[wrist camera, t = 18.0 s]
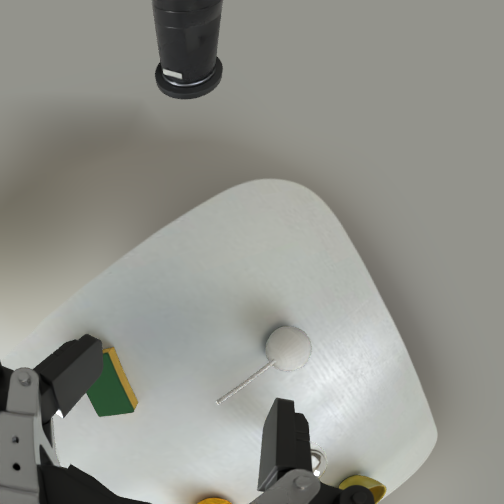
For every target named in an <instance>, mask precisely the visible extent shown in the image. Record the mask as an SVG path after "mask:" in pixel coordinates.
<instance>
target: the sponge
mask: <svg viewBox="0 0 504 504" xmlns="http://www.w3.org/2000/svg"><path fill="white" fill-rule="evenodd" d="M102 351H103V371H102V374H101V376H100V377H99V378H98V379H97V380H96V382H95V383H94V384H93V385H92V386H91V387H90V388H89V389H88V391H87V392H86V393H87V395H88V397H89V399H90V401H91V403H92V405H93V407H94V409H95V411H96V413H97V414H98V416H99V417H102V416H111V415H118V414H126V413H132V412H134V410H135V408H136V406H137V404H138V401H137V399H136V397H135V395H134V393H133V390H132V388H131V386H130V384H129V382H128V380H127V377H126V375H125V373H124V371H123V368H122V366H121V364H120V361H119V359H118V356H117V354H116V351H115V349H114V347H112V348H107V349H103V350H102Z"/></svg>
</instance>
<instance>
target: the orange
mask: <svg viewBox="0 0 504 504" xmlns="http://www.w3.org/2000/svg"><path fill="white" fill-rule="evenodd" d="M198 504H232V503H230V502H229V501H227V500H224V499H221V498H207V499H204V500H202V501H200V502H199V503H198Z"/></svg>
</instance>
